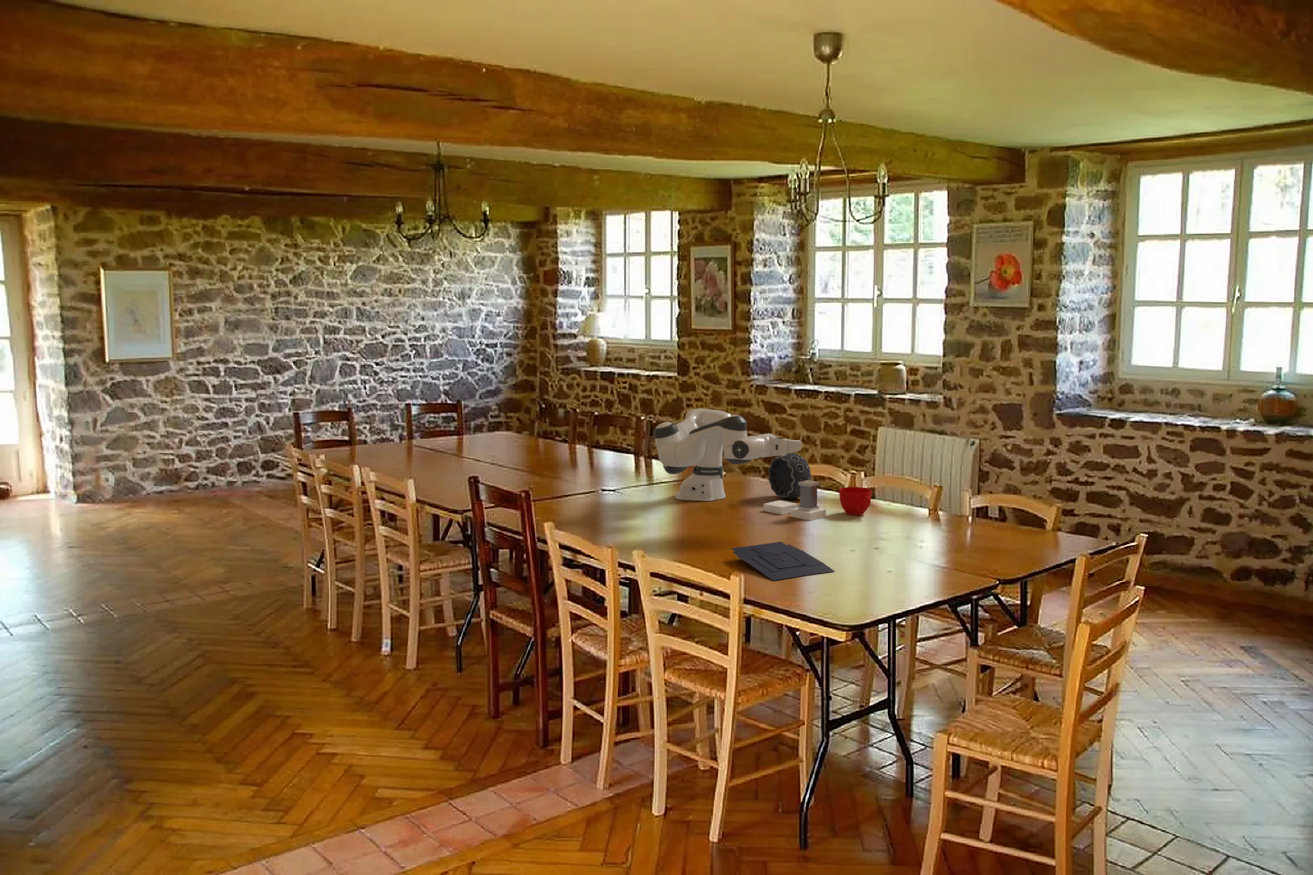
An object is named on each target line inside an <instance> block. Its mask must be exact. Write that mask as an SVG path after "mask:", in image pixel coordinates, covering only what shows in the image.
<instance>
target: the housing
mask: <svg viewBox="0 0 1313 875" xmlns="http://www.w3.org/2000/svg"><path fill="white" fill-rule="evenodd" d="M798 485H800V497H799V505H798V509H799V510H804V511H809V512H810V511H814V510H819V508H820V506H818V486H820V481H814V480H811V481H810V480H806V481H801V482H798Z"/></svg>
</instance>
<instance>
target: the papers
mask: <svg viewBox="0 0 1313 875" xmlns="http://www.w3.org/2000/svg"><path fill="white" fill-rule="evenodd" d="M730 549H731V550H732V553H733V554H735V555H736V557H738V558H739V559H740V560H743V561H744V562H746V563H747V564H749V565H750V566H751V567H753V568H755V569H756V570H757V571H759V572H760V573H761V574H763V575H765V576H766V577H767V578H769V579H771V580H772V581H780V580H784V579H785V580H786V579H789V578H790V579H791V578H796V577H802V576H809V575H816V574H817V575H818V574H824V573H832V572H835V570H834V569H833V568H831V567H829V566H828V565H827V564H825V563H824V562H822V561H821V560H819V559H817V558H816V557H815V556H812V555H811V554H809V553H807V552H806V551H804V550H802V549H800V548H798V547H796V546H793V545H791V544H785V542H782V541H777V542H767V543H763V544H761V543H760V544H756V545H755V544H754V545H747V546H746V545H745V546H739V547H730Z"/></svg>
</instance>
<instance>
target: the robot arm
mask: <svg viewBox="0 0 1313 875" xmlns="http://www.w3.org/2000/svg"><path fill="white" fill-rule="evenodd" d="M747 429H748V422H747V420H746V419H745V418H744V417H743V416H742V415H739V414H733V415H732V414H731V413H728V412H726V411H723V410H718V409H708V408H694V409H690V410H689V411H687V413H686V414H685V417H684V420H682V421H680V422H679V423H674V422H671V421H669V422H667V421H665V422H661V423H660V424H658V425H656V426H655V428H654V430H653V438H654V442H655V446H656V450H657V454H658V460H659V461H660V463H661V464H662V467H663V470H664V471H665V472H666V473H667V474H669V475H677V474H681V473H683V472H684V471H686V470H687V468H688V467H691V469H692V470H691V471H692V474H691V475H689V476H687V478H685V479H684V480H683V481H682V482H681V484H680V486H679V491H678V492H675V494H674V499H676V500H681V501H701V502H702V501H703V502H712V501H716V500H722V499H725V498H726V497H727V496H726V493H725V488H724V482H723V480H724V479H723V478H724V465H723V458H724V459H725V460H726V462H728V463H730V464H731V465H741V464H745V463H746V464H747V463H750V462H751V461H752V460H756V459H757V460H758V459H759V458H764V459H765V458H768V457H771V458H772V457H777V456H785V455H786V454H787V453H796V452H800V451H801V450H802V446H803V444H802V441H801V440H796V439H788V438H784V437H779V436H777V435H774V434H773V433H763V434H758V435H750V436H749V435H748V431H747ZM723 456H724V457H723Z"/></svg>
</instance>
